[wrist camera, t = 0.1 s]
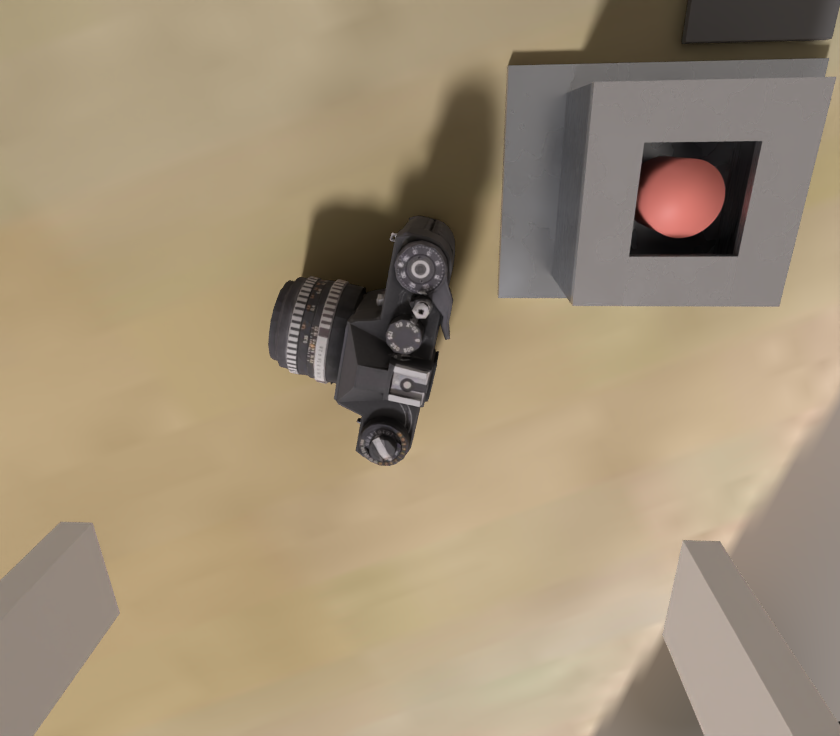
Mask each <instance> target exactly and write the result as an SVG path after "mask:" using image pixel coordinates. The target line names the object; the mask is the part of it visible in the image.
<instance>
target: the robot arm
mask: <svg viewBox="0 0 840 736" xmlns="http://www.w3.org/2000/svg"><path fill="white" fill-rule="evenodd" d="M119 614H120V612H119V609H118V605H117V602H116V599H115V596H114V592H113V589H112V586H111V582H110V579H109V576H108V572H107V569H106V566H105V562H104V559H103V556H102V552H101V549H100V546H99V542H98V539H97V536H96V532H95V529H94V526H93V523H83V522H60V523H59V524H58V525H57V526H56V527H55V528H54V529H53V530H52V531H51V532H49V533H48V534H47V535H46V536H45V537H44V538H43V539H42V540H41V541H40V542H39V543H38V544H37V545H36V546H35V547H34V548H33V549H32V550H31V551H30V552H29V553H28V554H27V555H26V556H25V557H24V558H23V559H22V560H21V561H20V562H19V563H18V564H17V565H16V566H15V567H13V568H12V569H11V570H10V571H9V572H8V573H7V574H6V575H5V576H4V577H3V578H2V579H1V580H0V736H33V735H34V734H35V733H36V731H37V730H38V728H39V727H40V725H41V724H42V723H43V721H44V720H45V718H46V717H47V716H48V714H49V713H50V711H51V710H52V708H53V707H54V706H55V704H56V703H57V701H58V700H59V699H60V697H61V696H62V694H63V693H64V691H65V690H66V689H67V687H68V686H69V684H70V683H71V682H72V680H73V679H74V677H75V676H76V674H77V673H78V672H79V670H80V669H81V667H82V666H83V665H84V663H85V662H86V660H87V659H88V657H89V656H90V655H91V653H92V652H93V650H94V649H95V648H96V646H97V645H98V643H99V642H100V640H101V639H102V638H103V636H104V635H105V633H106V632H107V631H108V629H109V628H110V626H111V625H112V623H113V622H114V621H115V619H116V618H117V616H118V615H119ZM662 635H663V637H664V640H665V642H666V644H667V647H668V649H669V652H670V654H671V656H672V659H673V661H674V664H675V666H676V669H677V671H678V673H679V675H680V678H681V680H682V683H683V685H684V688H685V690H686V692H687V695H688V697H689V700H690V702H691V704H692V707H693V709H694V712H695V714H696V717H697V719H698V721H699V724H700V726H701V729H702V731H703V733H704V736H840V722H838V721H837V720H836V718H835V717H834V715H833V714H832V712H831V711H830V709H829V708H828V706H827V705H826V703H825V701H824V700H823V698H822V697H821V696H820V694H819V692H818V691H817V689H816V688H815V686H814V685H813V683H812V682H811V680H810V678H809V677H808V675H807V674H806V673H805V671H804V669H803V668H802V666H801V665H800V663H799V662H798V660H797V659H796V657H795V656H794V654H793V652H792V651H791V650H790V648H789V647H788V645H787V643H786V642H785V640H784V639H783V637H782V636H781V634H780V633H779V631H778V630H777V628H776V626H775V625H774V623H773V622H772V620H771V619H770V617H769V616H768V614H767V613H766V611H765V610H764V608H763V607H762V605H761V604H760V602H759V601H758V599H757V598H756V596H755V594H754V593H753V591H752V590H751V588H750V587H749V585H748V584H747V582H746V581H745V579H744V578H743V576H742V574H741V573H740V571H739V570H738V569H737V567H736V565H735V564H734V562H733V561H732V559H731V558H730V556H729V555H728V553H727V552H726V550H725V548H724V547H723V545H722V544H721V542H720V541H691V540H683V542H682V547H681V551H680V556H679V561H678V565H677V570H676V575H675V579H674V584H673V588H672V593H671V598H670V602H669V607H668V611H667V616H666V621H665V625H664V630H663V634H662Z"/></svg>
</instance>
